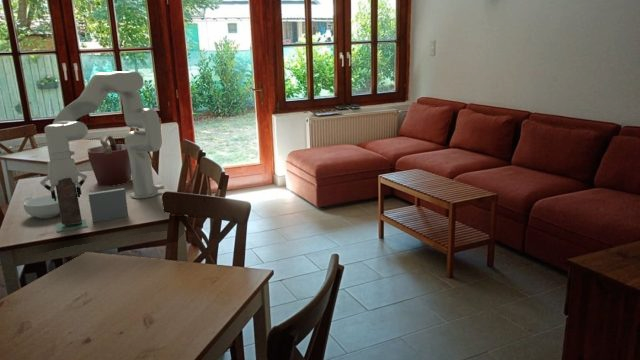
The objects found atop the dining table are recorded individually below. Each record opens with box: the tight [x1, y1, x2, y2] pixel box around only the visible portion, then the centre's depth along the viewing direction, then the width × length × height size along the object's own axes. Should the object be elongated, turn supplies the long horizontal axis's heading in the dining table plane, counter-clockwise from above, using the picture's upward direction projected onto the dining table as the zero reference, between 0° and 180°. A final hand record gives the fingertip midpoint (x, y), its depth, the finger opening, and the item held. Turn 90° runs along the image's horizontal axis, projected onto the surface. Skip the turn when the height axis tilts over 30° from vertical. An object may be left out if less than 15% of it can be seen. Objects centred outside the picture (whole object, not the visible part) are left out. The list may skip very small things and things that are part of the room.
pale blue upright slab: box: [87, 187, 129, 223], centre depth 209 cm, size 14×2×12 cm, turn 119°
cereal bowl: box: [23, 194, 60, 219], centre depth 216 cm, size 17×17×7 cm
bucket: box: [87, 135, 132, 187], centre depth 266 cm, size 24×22×25 cm
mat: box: [55, 218, 89, 233], centre depth 203 cm, size 11×10×1 cm
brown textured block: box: [55, 178, 83, 225], centre depth 201 cm, size 8×7×20 cm
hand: (67, 198), depth 200 cm, fingers open, 8 cm apart
